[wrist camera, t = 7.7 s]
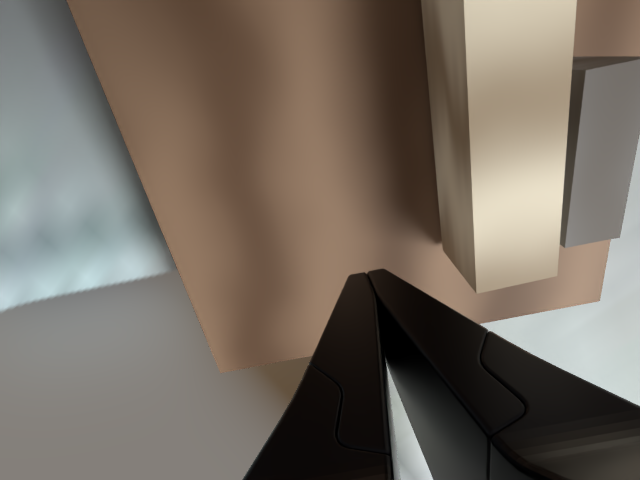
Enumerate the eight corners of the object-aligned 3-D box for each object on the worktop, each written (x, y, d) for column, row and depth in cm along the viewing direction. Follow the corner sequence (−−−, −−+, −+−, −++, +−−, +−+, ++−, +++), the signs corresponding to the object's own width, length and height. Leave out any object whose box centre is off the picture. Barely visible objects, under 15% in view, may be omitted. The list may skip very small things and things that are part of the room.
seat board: (226, 346, 22) (206, 432, 17) (23, -178, 12) (-167, -344, 7) (573, 280, 21) (659, 348, 16) (655, -321, 11) (929, -606, 7)
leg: (408, -127, 11) (466, -217, 8) (507, -153, 11) (615, -257, 8) (442, 249, 17) (483, 303, 13) (507, 234, 17) (567, 284, 13)
